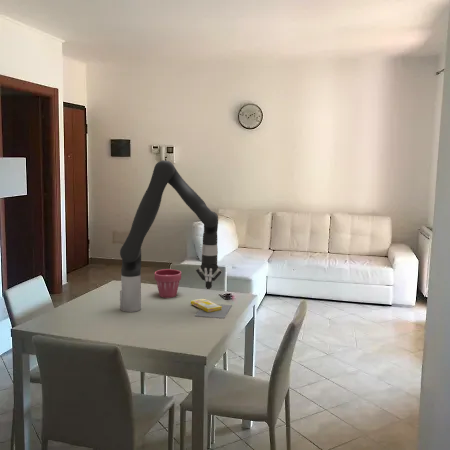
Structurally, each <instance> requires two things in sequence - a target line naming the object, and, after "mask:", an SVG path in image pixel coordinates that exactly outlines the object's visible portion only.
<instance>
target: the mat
mask: <svg viewBox="0 0 450 450" xmlns="http://www.w3.org/2000/svg"><path fill="white" fill-rule="evenodd" d="M216 304H217V303H216ZM217 305H219V306H221V307H222V310H218V311H212V312H206V311H204V310H202V309H200V308H199V310H198V311H197V312H196V314H194V317H201V318H210V319H211V318H215V319H225V317H227V315H228V313H229V311H230V310H231V308H232V306H233V305H232V304H220V303H219V304H217Z"/></svg>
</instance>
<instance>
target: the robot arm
mask: <svg viewBox="0 0 450 450" xmlns="http://www.w3.org/2000/svg"><path fill="white" fill-rule="evenodd" d="M167 185H170V186H171V187H172V189H174V191H176V193H177V194H178V196H180V198H181V200H182V201H183V203H185V204H186V206H187V207H188V208H189V209H190V210H191V211H192V212H193V213H194V214H195V215H196V216H197V218H198V219H199V220H200V222H201V223H202V224H203V234H202V247H201V264H200V267H198V268H196V269H195V271H196V273H197V274H198V276H199V277H200V278H201V280H202V281H205V288H206V290H211V289H212V286H213V282H215V281H216V280H217V279H218V277H220V275H221V274H222V273H223V270H221V269H220V268H219V265H218V253H219V252H218V251H219V250H218V229H219V228H218V227H219V216H218V214H217V212H215V211H212V210H211V209H210V208H209V206H207V203H206V202H205V201H204V199H202V198H201V196H200V195H198V193H197V192H196V191H195V190H194V189H193V188H192V187H191V186H190V185H189V184H188V183H187V182H186V181H185V180H184V179H183V177H182V176H181V175H180V173H179V172H178V170H177V169H176V167H175V165H174V163H172V161H170V160H166V159H165V160H160V161H157V163H156V164H155V165H154V168H153V171H152V174H151V178H150V181H149V184H148V186H147V189H146V191H145V192H144V195H143V196H142V198H141V199H140V200H141V201H140V203H139V205H138V208H137V209H136V213H135V215H134V218H133V221H132V224H131V226H130V227H131V228H130V230H129V233H128V235H127V236H126V239H125V241H124V242H123V244H122V246H121V247H120V250H119V255H120V258H121V259H122V260H121V270H120V271H121V272H120V275H121V276H120V277H121V279H120V280H121V281H120V282H121V290H119V309H120V311H123V312H126V313H134V312H139V311H141V310H142V277H141V275H142V274H141V273H142V271H141V270H142V246H143V242H144V239H145V238H146V235H147V233H148V232H149V231H150V229H151V228H152V225H153V223H154V222H155V219H156V218H157V215H158V212H159V210H160V206H161V202H162V197H163V194H164V191H165V189H166V187H167ZM215 273H216V274H215ZM214 274H215V276H214Z"/></svg>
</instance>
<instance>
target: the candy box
mask: <svg viewBox="0 0 450 450" xmlns="http://www.w3.org/2000/svg"><path fill="white" fill-rule="evenodd" d="M190 305H193V306H194V307H197V308H198V309H199V310H200V309H202V310H204V311H206V312H212V311H218V310H222V307H221V306H219V305H217V303H215V302H213V301H210V300H208V299H205V298H199V299H194V300H190Z"/></svg>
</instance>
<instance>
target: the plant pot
mask: <svg viewBox="0 0 450 450" xmlns="http://www.w3.org/2000/svg"><path fill="white" fill-rule="evenodd" d="M181 280H182V271H181V270H178V269H174V268H173V269H172V268H166V269H165V268H163V269H158V270H156V271H155V272H154V281H156V286H157V287H156V288H157V290H158V291H157V292H158V296H159V297H161V298H163V299H164V298H166V299H169V298H174V297H176V296H177V294H178V290H179V285H180V281H181Z"/></svg>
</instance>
